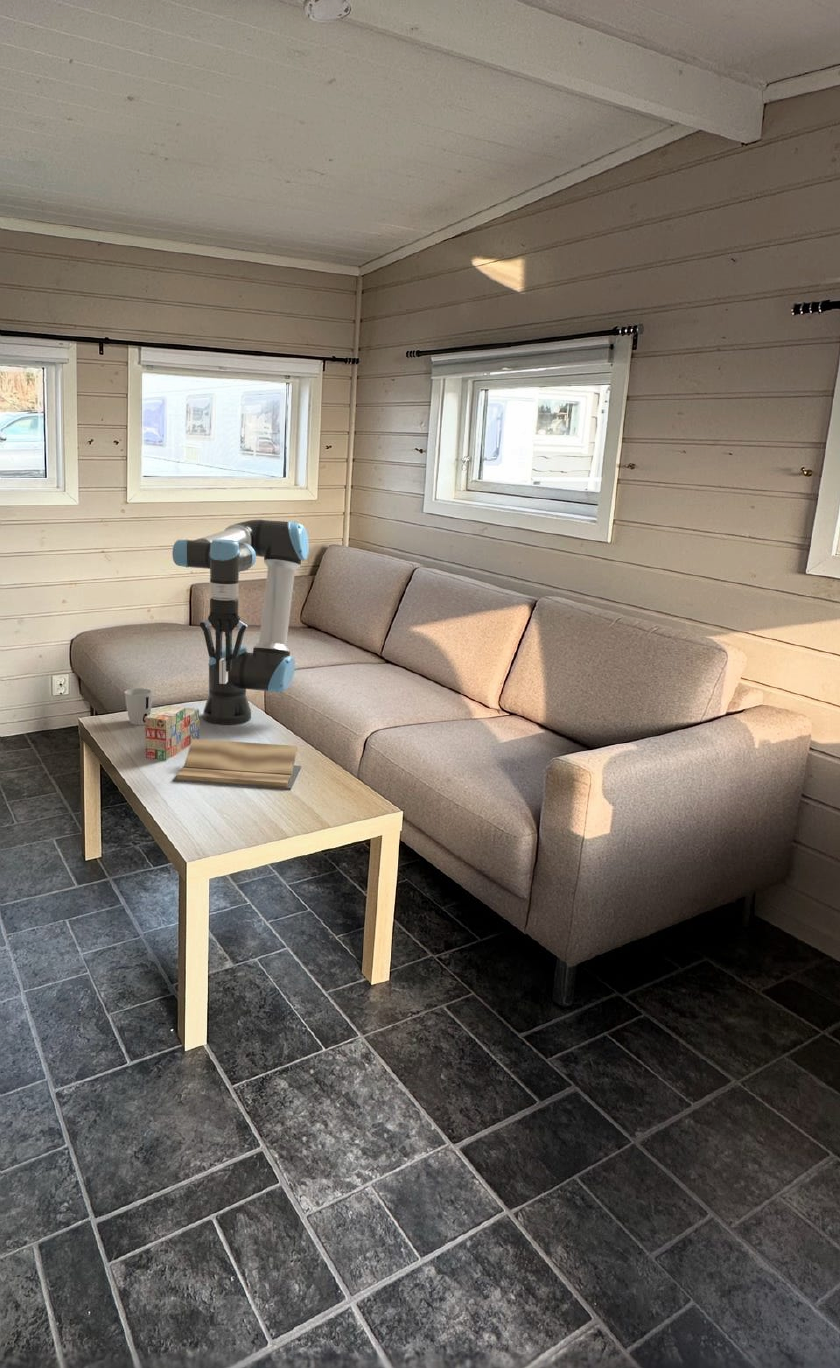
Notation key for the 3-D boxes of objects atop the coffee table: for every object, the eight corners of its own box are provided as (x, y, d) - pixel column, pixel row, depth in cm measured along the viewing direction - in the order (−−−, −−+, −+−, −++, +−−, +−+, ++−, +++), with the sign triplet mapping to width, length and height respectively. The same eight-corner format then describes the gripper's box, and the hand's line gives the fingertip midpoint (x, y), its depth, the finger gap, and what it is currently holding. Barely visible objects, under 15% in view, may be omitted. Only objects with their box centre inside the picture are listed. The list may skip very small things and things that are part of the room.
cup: (148, 727, 279) (147, 696, 277) (121, 725, 279) (121, 694, 277) (156, 719, 287) (155, 689, 284) (130, 717, 287) (129, 687, 284)
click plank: (193, 741, 251) (192, 738, 251) (297, 748, 251) (297, 746, 250) (184, 769, 244) (183, 766, 243) (291, 776, 244) (291, 774, 243)
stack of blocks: (180, 736, 273) (180, 696, 270) (199, 738, 272) (199, 699, 269) (145, 758, 253) (144, 716, 250) (166, 761, 252) (166, 719, 249)
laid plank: (183, 771, 243) (182, 767, 243) (290, 779, 243) (290, 775, 242) (176, 779, 238) (176, 774, 238) (287, 787, 237) (287, 782, 237)
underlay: (190, 759, 254) (190, 758, 254) (301, 767, 253) (301, 765, 253) (172, 781, 238) (172, 779, 237) (290, 789, 237) (290, 788, 237)
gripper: (195, 598, 241) (195, 684, 247) (245, 601, 241) (244, 687, 247) (203, 594, 248) (203, 677, 254) (251, 597, 248) (250, 680, 254)
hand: (223, 682), depth 250 cm, fingers closed
